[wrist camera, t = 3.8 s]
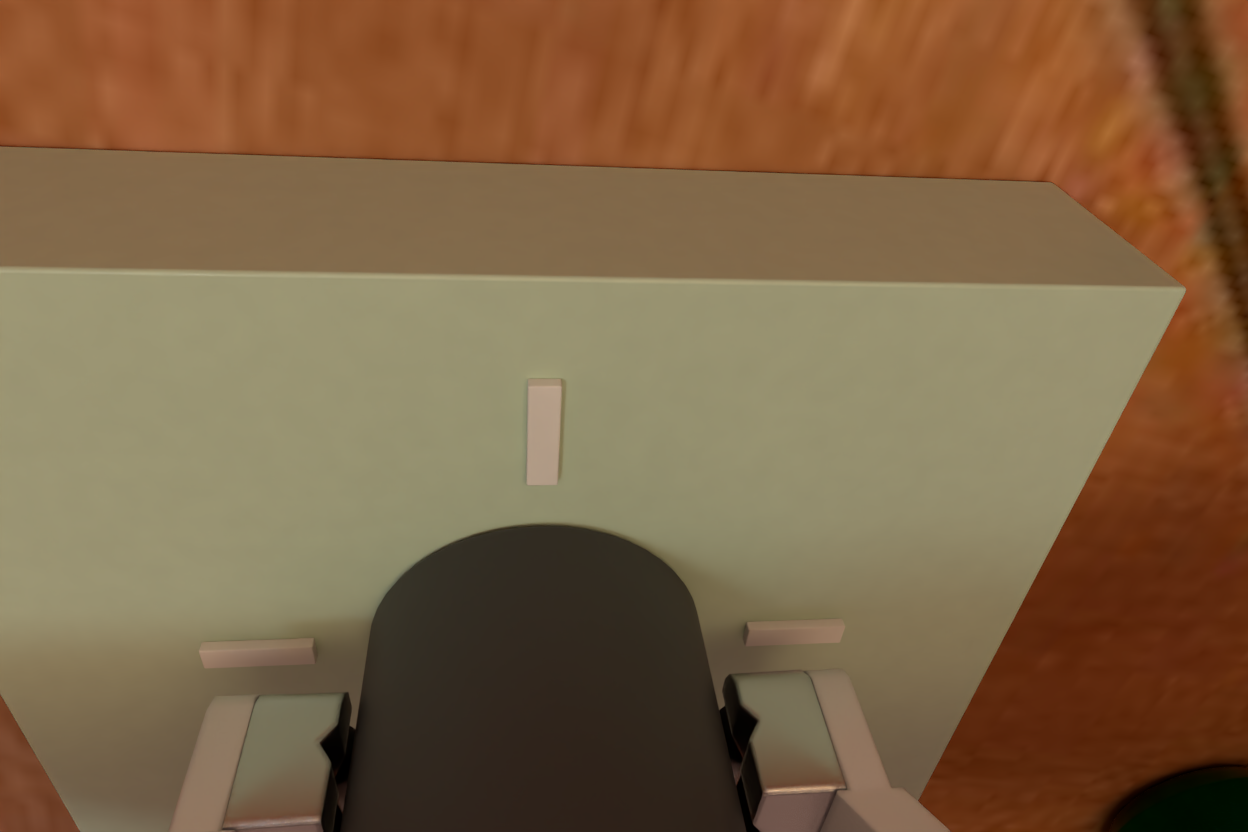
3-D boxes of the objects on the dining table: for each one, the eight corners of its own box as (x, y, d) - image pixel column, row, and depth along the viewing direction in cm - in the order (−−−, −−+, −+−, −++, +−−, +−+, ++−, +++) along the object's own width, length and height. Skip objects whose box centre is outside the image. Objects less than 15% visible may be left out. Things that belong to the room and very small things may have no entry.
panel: (1052, 180, 12) (1199, 295, 9) (859, 678, 18) (915, 823, 16) (-74, 141, 10) (-267, 272, 8) (158, 710, 17) (97, 881, 14)
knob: (718, 519, 11) (817, 871, 7) (678, 727, 13) (736, 1056, 10) (352, 527, 10) (276, 913, 7) (385, 742, 13) (342, 1098, 9)
